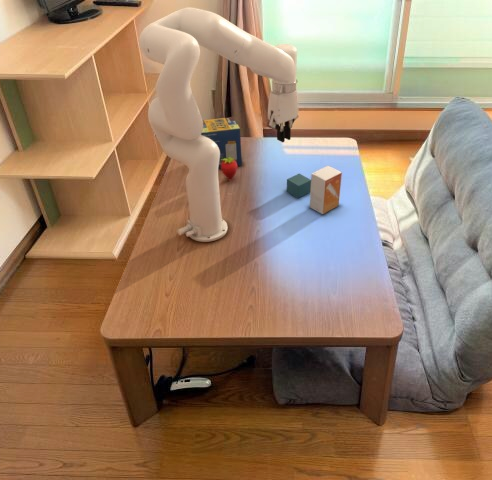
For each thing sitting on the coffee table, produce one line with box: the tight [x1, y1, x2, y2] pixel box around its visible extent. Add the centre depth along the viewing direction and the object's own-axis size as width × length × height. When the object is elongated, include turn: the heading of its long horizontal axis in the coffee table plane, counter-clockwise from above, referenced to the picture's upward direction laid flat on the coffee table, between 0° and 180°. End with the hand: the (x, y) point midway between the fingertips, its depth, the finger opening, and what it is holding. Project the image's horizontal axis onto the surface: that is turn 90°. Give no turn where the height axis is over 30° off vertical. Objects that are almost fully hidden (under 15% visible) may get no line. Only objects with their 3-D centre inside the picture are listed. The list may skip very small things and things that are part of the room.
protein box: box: [201, 116, 243, 170], centre depth 183 cm, size 10×15×16 cm
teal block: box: [286, 173, 311, 199], centre depth 170 cm, size 6×6×5 cm
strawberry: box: [221, 156, 238, 181], centre depth 174 cm, size 6×8×10 cm
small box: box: [309, 165, 343, 215], centre depth 160 cm, size 8×6×13 cm
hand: (283, 139), depth 166 cm, fingers closed
